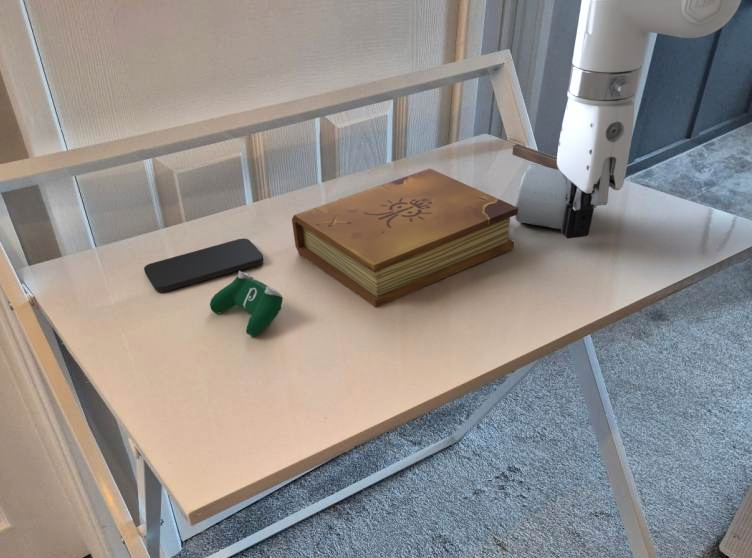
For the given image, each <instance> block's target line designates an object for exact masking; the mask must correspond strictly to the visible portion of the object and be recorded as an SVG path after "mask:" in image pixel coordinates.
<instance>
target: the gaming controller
mask: <svg viewBox="0 0 752 558" xmlns="http://www.w3.org/2000/svg"><path fill="white" fill-rule="evenodd" d="M283 299H284V297H283V296H282V294H281V293H280V291H278V290H277V289H275V288H273V287H271V286H269V285H267V284H266V283H264V282H262V281H259V280H257V279H255V278H254V277H253V276H252V275H250V274H248V273H246V272H243V271H241V270H238V274H237V276H236V277H235V278H234V280H233V281H231V283H229V284H227V285H226V286H225V287H223V288H221V289H220V290H219V291H217V292H216V293H215V294H214V295H213V296H212V298H211V299H210V302H209V307H210V310H211V312H213V314H220V313H219V312H221V313H224V312H226V311H228V310H230V309H231V308H234V307H238V308H240V309H242V310H243V311H245V312H246V313H249V314H250V317H249V319H248V322H247V325H246V328H245V330H246V331H245V333H246V334H247V335H249V336H250V337H252V338H255V337H256V336H257V335H259V334H261V333H262V332H263V331H264V330H265V329H267V327H269V326H270V325H271V323H272V322H273V321H274V320H275V319H276V317H277V316H278V315H279V313H280V311H281V310H282V304H283ZM223 311H224V312H223Z"/></svg>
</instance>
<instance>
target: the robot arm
mask: <svg viewBox="0 0 752 558" xmlns="http://www.w3.org/2000/svg"><path fill="white" fill-rule="evenodd" d="M741 3H742V0H581V4H580V10H579V16H578V22H577V29H576V36H575V43H574V48H573V55H572V59H571V60H572V61H571V67H570V73H569V80H568V87H567V92H566V93H567V94H566V96H567V103H566V106H565V112H564V115H563V120H562V125H561V129H560V135H559V140H558V147H557V155H556V157H557V166H558V168H559V170H560V171H561V172H562V175H563V177H564V178H565V180H566V184H567V186H566V196H565V201H566V203H569V204H566V207H565V213H564V219H563V225H562V229H561V231H560V232H561V234H562V235H563V236H564V237H565V238H566V239H577V238H585V237H587V236H589V234H590V231H591V227H592V220H593V217H594V210H595V209H596V208H597V207H600V206H607V204H608V202H609V189H610V188H611V189H612V190H614V191H620V190H621V189H622V188H623V186H624V184H625V178H626V174H627V169H628V163H629V157H630V152H631V147H632V146H631V145H632V138H633V130H634V119H635V102H634V99H635V97H636V92H637V88H638V83H639V80H640V74H641V70H642V65H643V61H644V56H645V51H646V46H647V43H648V37H649V34H650V33H652V34H660V35H665V36H671V37H676V38H680V39H698V38H702V37H706V36H709V35H711V34H713V33H715V32H717V31H719V30H720V29H721V28H723V27H724V26H726V24H728V23H729V22H730V20H731V19H732V18H733V17H734V16H735V14H736V12H737V10H738V9H739V7H740V4H741Z"/></svg>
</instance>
